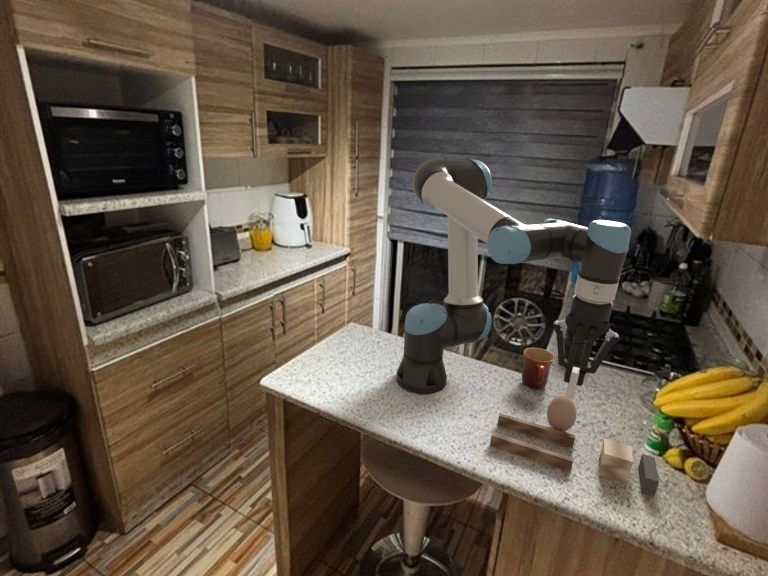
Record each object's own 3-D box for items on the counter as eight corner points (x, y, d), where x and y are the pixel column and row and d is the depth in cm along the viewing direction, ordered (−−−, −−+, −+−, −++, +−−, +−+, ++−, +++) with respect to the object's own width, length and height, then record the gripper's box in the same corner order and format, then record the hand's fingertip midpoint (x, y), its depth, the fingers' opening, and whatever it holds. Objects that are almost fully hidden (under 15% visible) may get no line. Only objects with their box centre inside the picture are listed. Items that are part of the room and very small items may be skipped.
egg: (577, 429, 107) (584, 397, 104) (565, 441, 103) (573, 408, 99) (551, 417, 112) (557, 385, 108) (539, 428, 107) (545, 395, 104)
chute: (489, 445, 100) (491, 435, 99) (498, 422, 109) (499, 413, 108) (570, 472, 93) (573, 461, 92) (572, 445, 101) (575, 435, 100)
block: (598, 475, 93) (604, 453, 91) (598, 459, 97) (604, 438, 95) (626, 484, 90) (633, 462, 88) (625, 467, 95) (631, 446, 93)
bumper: (641, 492, 88) (645, 477, 87) (638, 467, 95) (642, 453, 94) (654, 496, 87) (659, 481, 86) (650, 471, 94) (654, 457, 93)
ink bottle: (591, 359, 143) (598, 328, 139) (582, 369, 137) (589, 335, 133) (563, 349, 149) (569, 319, 145) (553, 358, 143) (559, 326, 139)
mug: (517, 375, 131) (522, 346, 128) (546, 379, 130) (551, 349, 126) (521, 396, 120) (526, 365, 117) (553, 401, 119) (559, 369, 115)
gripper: (557, 297, 84) (537, 395, 93) (630, 311, 79) (601, 413, 88) (560, 286, 91) (541, 378, 99) (628, 298, 86) (601, 395, 94)
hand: (569, 395), depth 93 cm, fingers closed
